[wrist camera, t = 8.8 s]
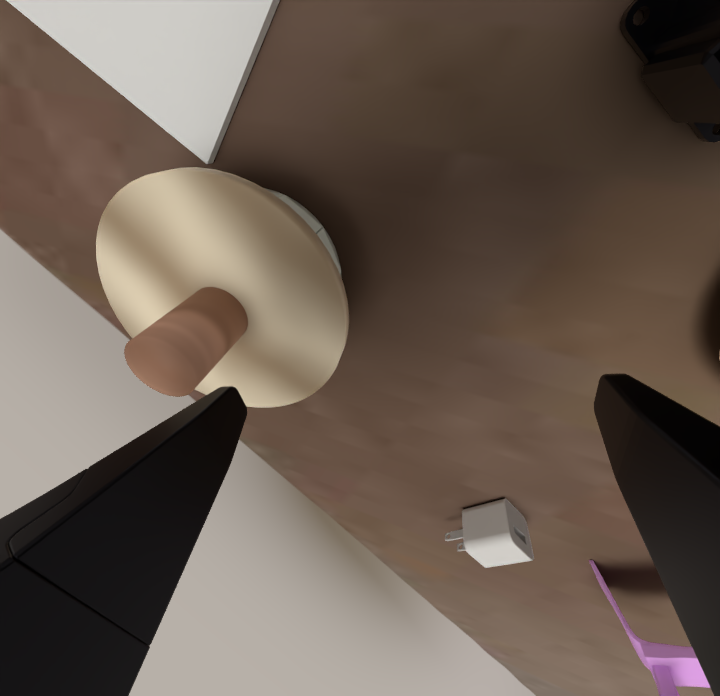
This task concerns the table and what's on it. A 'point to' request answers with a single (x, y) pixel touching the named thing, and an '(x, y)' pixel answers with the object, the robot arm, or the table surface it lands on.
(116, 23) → the mat
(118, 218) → the lid
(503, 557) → the usb wall charger
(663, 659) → the toy chair
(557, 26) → the table surface
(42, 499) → the robot arm
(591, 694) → the table surface
